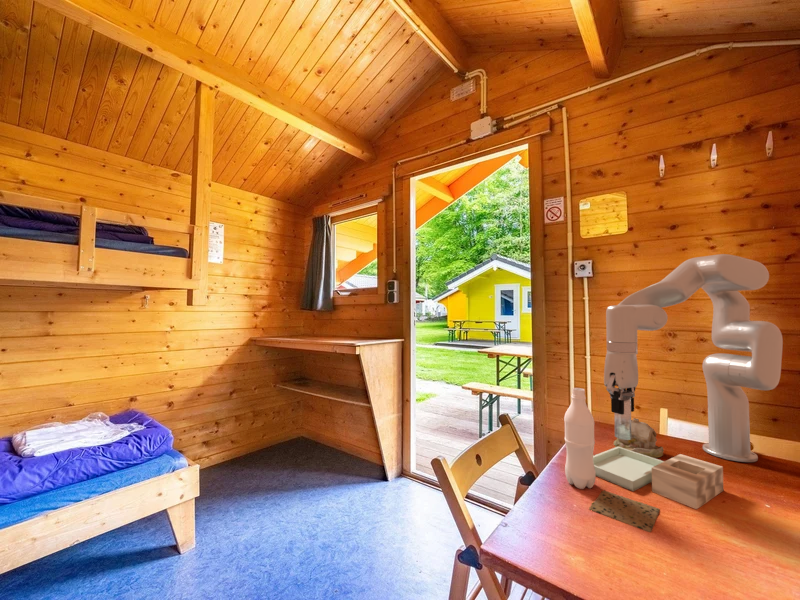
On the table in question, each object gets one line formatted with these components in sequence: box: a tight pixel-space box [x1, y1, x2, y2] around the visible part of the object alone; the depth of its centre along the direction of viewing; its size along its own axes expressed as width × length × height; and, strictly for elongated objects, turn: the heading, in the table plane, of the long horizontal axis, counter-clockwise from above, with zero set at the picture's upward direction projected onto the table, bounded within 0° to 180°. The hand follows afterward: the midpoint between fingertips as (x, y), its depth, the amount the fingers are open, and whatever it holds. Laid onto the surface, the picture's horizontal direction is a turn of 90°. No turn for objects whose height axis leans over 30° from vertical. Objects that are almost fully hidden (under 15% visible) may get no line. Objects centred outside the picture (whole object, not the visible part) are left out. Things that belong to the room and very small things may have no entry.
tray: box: [593, 446, 665, 492], centre depth 98 cm, size 20×14×2 cm
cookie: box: [588, 490, 661, 533], centre depth 80 cm, size 12×12×1 cm
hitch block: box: [651, 453, 724, 510], centre depth 87 cm, size 16×9×6 cm, turn 120°
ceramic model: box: [613, 417, 665, 459], centre depth 114 cm, size 14×11×10 cm
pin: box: [614, 390, 635, 440], centre depth 99 cm, size 6×6×13 cm
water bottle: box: [563, 387, 597, 490], centre depth 91 cm, size 7×7×25 cm
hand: (622, 411), depth 99 cm, fingers closed on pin, 4 cm apart
